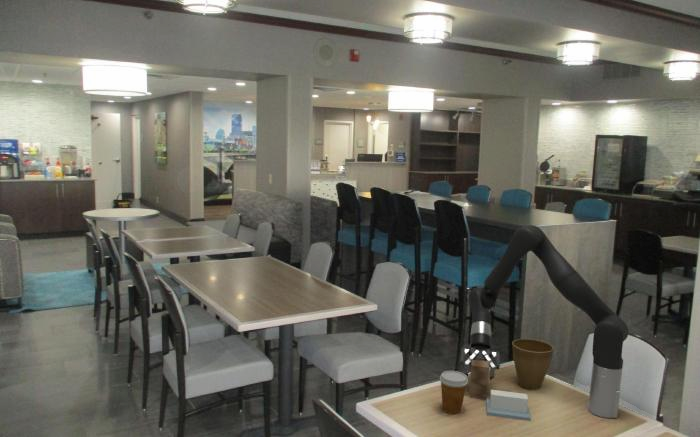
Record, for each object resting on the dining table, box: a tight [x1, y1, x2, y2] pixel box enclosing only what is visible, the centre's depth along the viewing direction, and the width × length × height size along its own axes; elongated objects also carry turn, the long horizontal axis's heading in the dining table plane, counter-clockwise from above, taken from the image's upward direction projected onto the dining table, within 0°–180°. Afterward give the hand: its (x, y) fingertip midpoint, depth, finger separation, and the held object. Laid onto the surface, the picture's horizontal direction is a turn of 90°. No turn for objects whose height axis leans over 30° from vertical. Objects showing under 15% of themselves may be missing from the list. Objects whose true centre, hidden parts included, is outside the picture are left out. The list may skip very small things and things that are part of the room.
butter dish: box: [485, 389, 532, 421], centre depth 189 cm, size 14×10×6 cm
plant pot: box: [511, 338, 555, 390], centre depth 210 cm, size 15×15×16 cm
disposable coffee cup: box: [439, 370, 469, 414], centre depth 188 cm, size 10×10×12 cm
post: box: [468, 359, 490, 401], centre depth 200 cm, size 6×6×12 cm
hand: (479, 377), depth 200 cm, fingers open, 8 cm apart
